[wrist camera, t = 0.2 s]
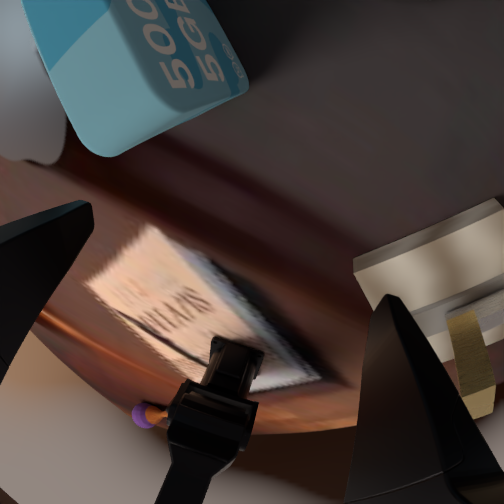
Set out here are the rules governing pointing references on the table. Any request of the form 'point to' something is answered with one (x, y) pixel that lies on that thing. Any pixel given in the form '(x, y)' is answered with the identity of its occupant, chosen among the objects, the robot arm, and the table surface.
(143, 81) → the data package
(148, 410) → the purple maraca
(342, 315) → the table surface
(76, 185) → the table surface
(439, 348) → the door and jamb
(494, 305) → the bolt
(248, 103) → the table surface
